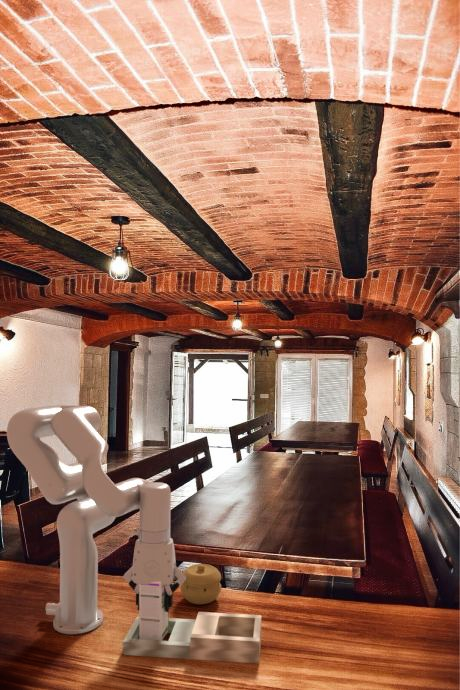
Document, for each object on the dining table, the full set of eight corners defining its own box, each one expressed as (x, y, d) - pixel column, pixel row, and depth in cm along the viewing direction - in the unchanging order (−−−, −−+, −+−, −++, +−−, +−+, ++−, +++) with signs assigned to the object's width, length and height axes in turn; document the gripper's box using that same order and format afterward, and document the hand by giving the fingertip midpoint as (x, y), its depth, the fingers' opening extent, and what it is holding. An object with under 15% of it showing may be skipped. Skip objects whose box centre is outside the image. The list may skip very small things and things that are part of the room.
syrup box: (161, 642, 123) (162, 581, 123) (138, 639, 124) (138, 579, 124) (169, 630, 129) (169, 571, 129) (146, 627, 130) (147, 569, 130)
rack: (122, 654, 121) (122, 633, 121) (136, 627, 133) (137, 608, 133) (259, 663, 118) (259, 641, 118) (261, 635, 130) (261, 615, 130)
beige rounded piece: (215, 612, 141) (215, 575, 142) (174, 607, 144) (174, 570, 144) (225, 593, 153) (226, 559, 153) (188, 588, 156) (188, 555, 156)
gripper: (115, 538, 124) (115, 614, 124) (186, 541, 122) (186, 618, 122) (125, 528, 132) (124, 599, 131) (192, 530, 130) (191, 603, 129)
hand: (154, 607), depth 127 cm, fingers closed on syrup box, 6 cm apart
